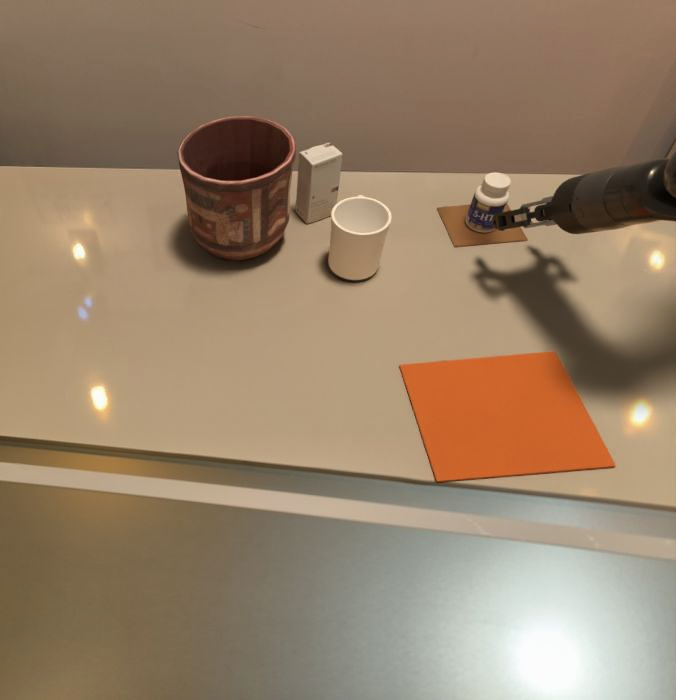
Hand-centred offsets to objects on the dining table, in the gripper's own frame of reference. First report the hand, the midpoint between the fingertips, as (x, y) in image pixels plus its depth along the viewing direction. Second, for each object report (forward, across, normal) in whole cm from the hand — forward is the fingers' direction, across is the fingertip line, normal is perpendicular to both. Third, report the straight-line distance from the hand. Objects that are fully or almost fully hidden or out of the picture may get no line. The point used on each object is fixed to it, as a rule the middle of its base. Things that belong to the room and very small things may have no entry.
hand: (521, 216), depth 92 cm
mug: (+10, +24, +2) cm, 26 cm away
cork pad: (+11, 0, 0) cm, 11 cm away
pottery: (+17, +40, -6) cm, 44 cm away
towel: (-14, +16, +25) cm, 32 cm away
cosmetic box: (+19, +26, -8) cm, 33 cm away
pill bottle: (+11, 0, 0) cm, 11 cm away
